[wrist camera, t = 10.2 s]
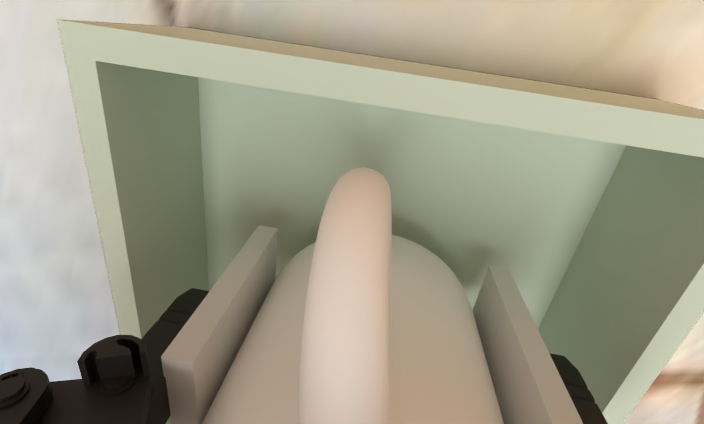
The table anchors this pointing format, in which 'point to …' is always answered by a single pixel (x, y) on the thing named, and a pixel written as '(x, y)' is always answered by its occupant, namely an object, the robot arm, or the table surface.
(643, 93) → the table surface
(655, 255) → the caddy
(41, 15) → the table surface
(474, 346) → the mug
